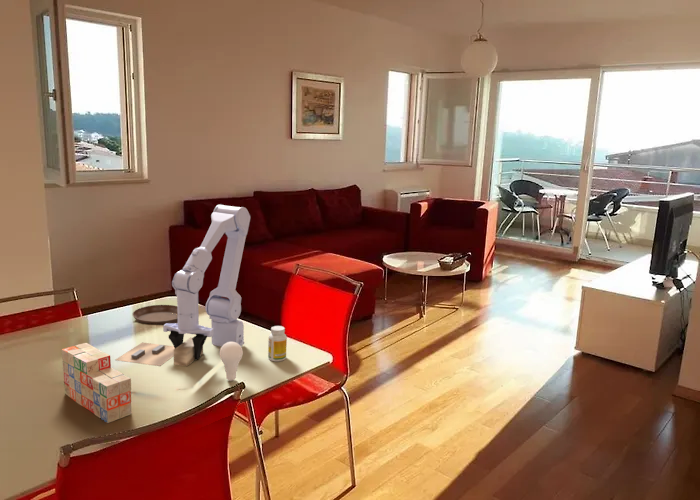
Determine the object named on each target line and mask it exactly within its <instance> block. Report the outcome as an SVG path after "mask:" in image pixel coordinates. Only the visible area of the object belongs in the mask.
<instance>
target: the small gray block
mask: <svg viewBox="0 0 700 500" xmlns="http://www.w3.org/2000/svg"><path fill="white" fill-rule="evenodd" d="M163 349H165V344H159V346H157V347H156V348H154V349H153V350H152V353H153V354H157V353H159V352H160V351H162V350H163Z"/></svg>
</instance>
